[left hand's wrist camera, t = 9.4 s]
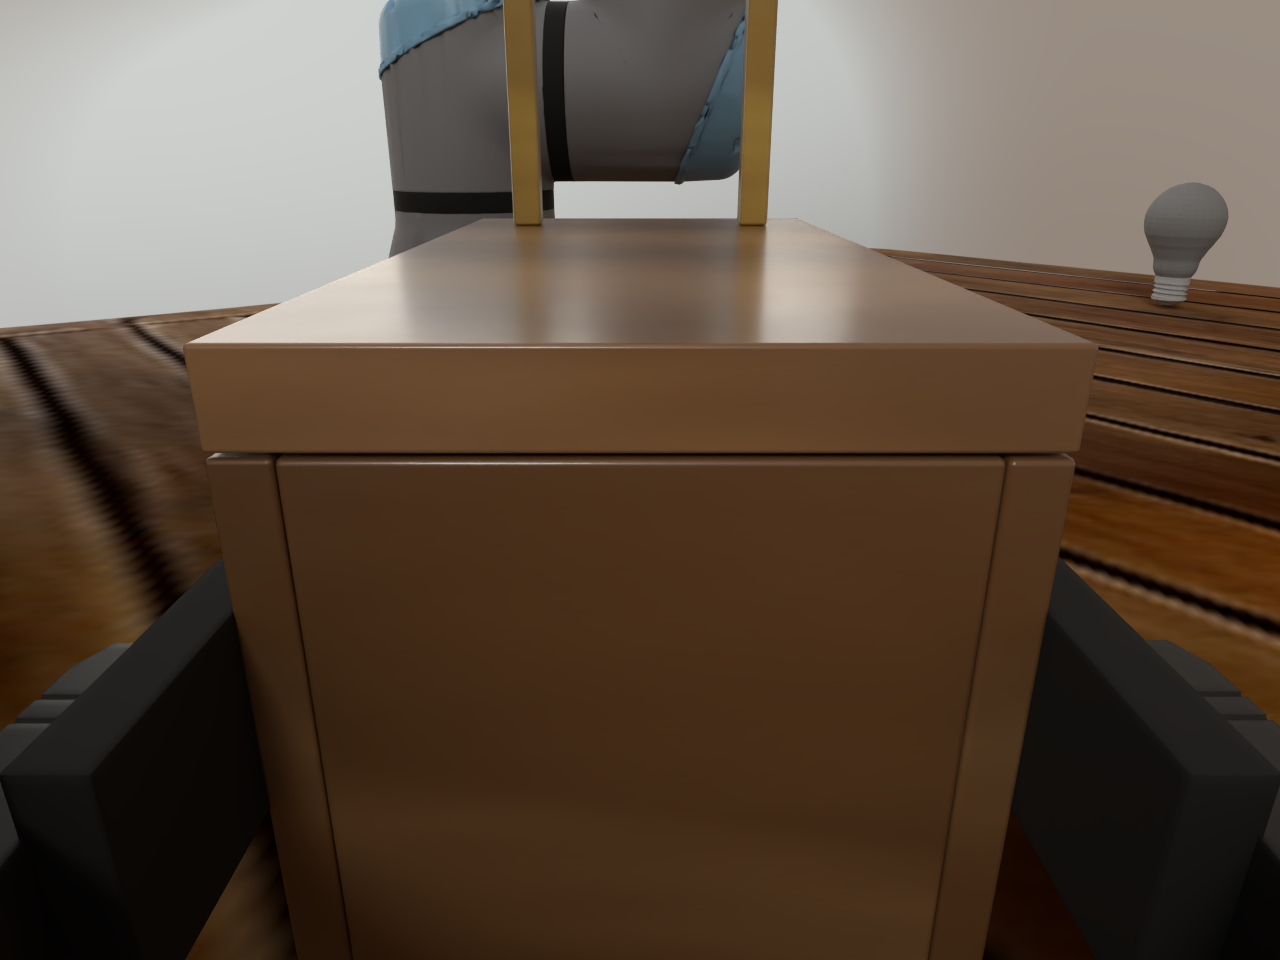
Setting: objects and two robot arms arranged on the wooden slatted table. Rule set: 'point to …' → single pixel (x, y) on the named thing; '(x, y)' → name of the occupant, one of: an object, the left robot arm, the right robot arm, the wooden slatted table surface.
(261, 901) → the wooden slatted table surface
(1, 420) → the wooden slatted table surface
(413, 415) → the lid
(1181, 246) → the light bulb
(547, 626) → the chest
